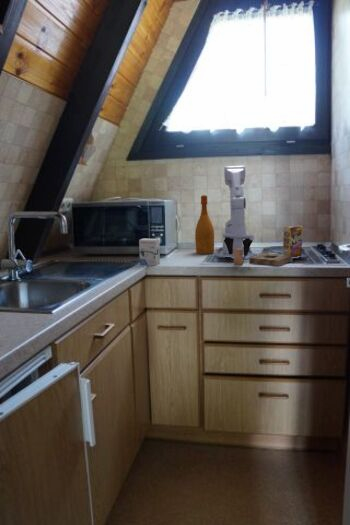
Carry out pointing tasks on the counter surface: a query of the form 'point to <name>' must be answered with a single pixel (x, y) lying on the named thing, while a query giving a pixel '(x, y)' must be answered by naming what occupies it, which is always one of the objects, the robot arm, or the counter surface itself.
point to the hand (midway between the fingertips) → (238, 254)
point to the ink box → (149, 251)
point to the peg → (238, 256)
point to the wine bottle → (204, 231)
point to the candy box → (292, 241)
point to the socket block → (270, 259)
